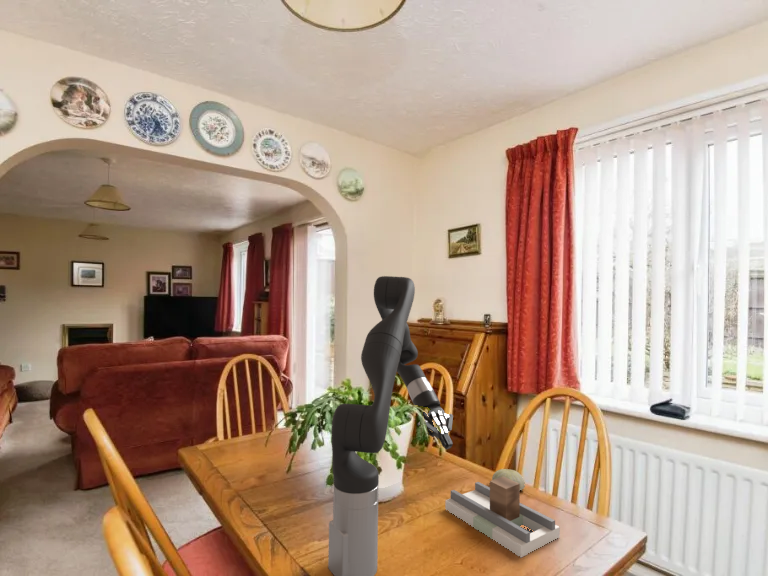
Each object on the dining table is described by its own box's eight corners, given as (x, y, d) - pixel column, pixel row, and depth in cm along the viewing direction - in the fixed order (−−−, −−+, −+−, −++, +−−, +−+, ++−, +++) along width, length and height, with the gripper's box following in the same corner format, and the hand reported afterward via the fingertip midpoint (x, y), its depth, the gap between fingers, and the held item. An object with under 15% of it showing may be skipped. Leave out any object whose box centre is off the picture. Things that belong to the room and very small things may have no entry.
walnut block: (505, 522, 99) (506, 488, 99) (489, 513, 103) (489, 481, 103) (519, 516, 101) (519, 483, 102) (503, 508, 105) (503, 476, 106)
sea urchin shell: (494, 471, 130) (512, 456, 127) (512, 493, 127) (531, 479, 124) (485, 482, 122) (504, 466, 119) (504, 506, 119) (524, 491, 116)
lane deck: (520, 557, 89) (521, 536, 89) (445, 509, 109) (445, 492, 109) (559, 537, 97) (559, 518, 97) (482, 496, 117) (482, 480, 117)
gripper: (411, 391, 124) (437, 445, 113) (444, 386, 131) (472, 437, 120) (400, 405, 128) (425, 458, 117) (433, 400, 135) (459, 449, 125)
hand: (449, 447), depth 119 cm, fingers closed
